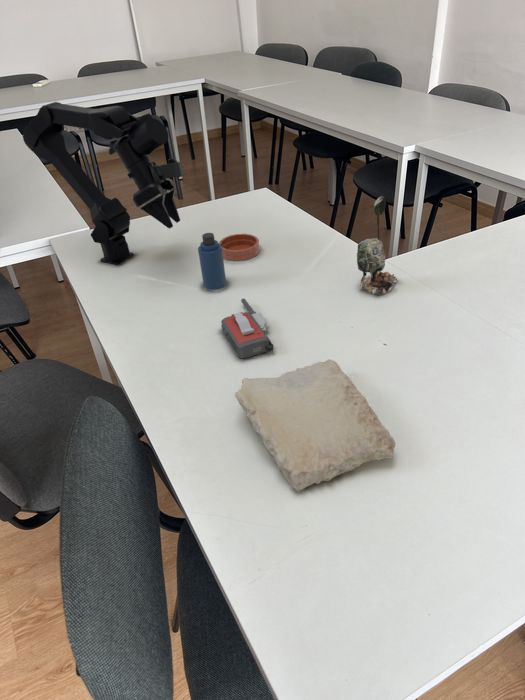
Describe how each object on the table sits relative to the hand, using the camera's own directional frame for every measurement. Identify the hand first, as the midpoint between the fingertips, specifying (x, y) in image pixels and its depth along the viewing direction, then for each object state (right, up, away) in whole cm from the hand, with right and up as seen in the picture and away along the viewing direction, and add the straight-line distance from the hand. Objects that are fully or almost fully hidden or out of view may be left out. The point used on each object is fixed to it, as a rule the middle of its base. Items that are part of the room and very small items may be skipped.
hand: (175, 224), depth 124 cm
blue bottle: (+9, -14, +1) cm, 17 cm away
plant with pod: (+46, -15, -4) cm, 49 cm away
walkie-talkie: (+17, -26, -15) cm, 34 cm away
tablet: (+28, -42, -38) cm, 63 cm away
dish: (+15, -4, +14) cm, 21 cm away
